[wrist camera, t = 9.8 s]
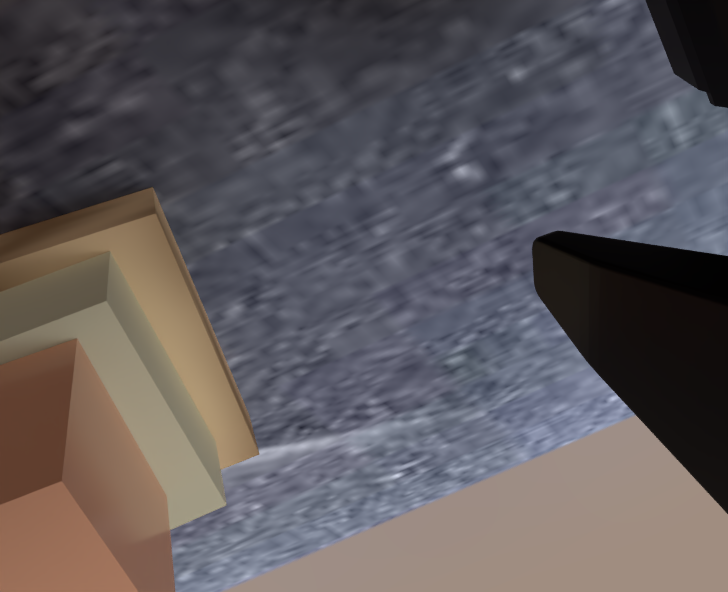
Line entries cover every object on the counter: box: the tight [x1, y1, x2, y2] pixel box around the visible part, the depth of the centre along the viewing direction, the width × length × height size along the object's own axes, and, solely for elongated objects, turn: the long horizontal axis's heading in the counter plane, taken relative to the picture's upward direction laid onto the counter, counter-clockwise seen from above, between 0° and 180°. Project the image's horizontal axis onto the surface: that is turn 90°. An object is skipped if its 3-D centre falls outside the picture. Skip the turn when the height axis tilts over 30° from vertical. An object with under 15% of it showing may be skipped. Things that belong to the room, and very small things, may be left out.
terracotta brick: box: [0, 338, 175, 592], centre depth 14 cm, size 4×6×5 cm
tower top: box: [0, 251, 227, 530], centre depth 18 cm, size 8×8×3 cm
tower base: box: [0, 187, 259, 469], centre depth 21 cm, size 10×10×3 cm
